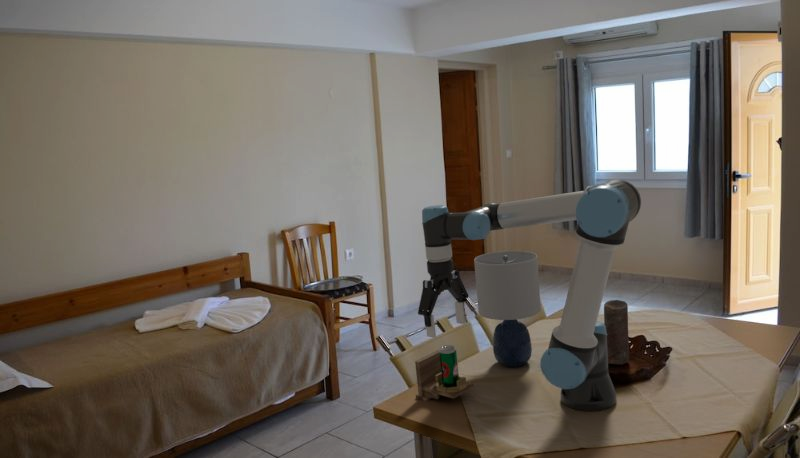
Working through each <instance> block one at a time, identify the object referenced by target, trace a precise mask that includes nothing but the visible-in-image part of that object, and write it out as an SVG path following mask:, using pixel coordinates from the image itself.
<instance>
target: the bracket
mask: <svg viewBox="0 0 800 458" xmlns="http://www.w3.org/2000/svg"><path fill="white" fill-rule="evenodd" d="M439 351H440V349H438V350H436V351H434V352H432V353H429V354H427V355H426V356H423V357H420V358H419V359H417V360H415V362H414V363H415V364H414V365H415V372H416V382H417V394H415V399H418V400H420V399H421V400H420V401H425V402H427V401H429V400H431V399H434V400H439V399H440V396H443V397H447V398H450V399H456V398H457V397H459V396H461V395H462V394H464V393H466V392H468V391H470V390H471V389H473V388H474V387H475V383H473V382H469V381H467V377H465V376H463V377H461V376H459V380H457V387H449V388H446V387H444V386H443V384H442V374H441V365H440V355H439ZM428 399H429V400H428Z"/></svg>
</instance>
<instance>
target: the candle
mask: <svg viewBox="0 0 800 458" xmlns="http://www.w3.org/2000/svg"><path fill="white" fill-rule="evenodd" d="M628 306H629V305H628V303H627V301H625V300H620V299H613V300H607V301H606V302H605V303H604V304H603V318H604V319H603V321H604V322H603V324H604V325H605V326H606V333H607V353H608V365H609V364H611V365H615V366H622V365H625V364H626V363H627V362H629V361H630V346H629V345H630V342H629V341H630V340H629V339H630V338H629V313H628V309H629V307H628Z"/></svg>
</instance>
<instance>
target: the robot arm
mask: <svg viewBox="0 0 800 458" xmlns="http://www.w3.org/2000/svg"><path fill="white" fill-rule="evenodd" d="M641 206H642V198H641V194H640V192H639V190H638V189H637V188H636V186H635V185H633V184H632V183H630V182H629V181H626V180H622V179H611V180H608V181H606V182H605V181H604V182H603V183H600V184H599V183H598V184H594V185H587V187H586V188H585V189H584V190H581V191H580V190H578V191H573V192H567V193H560V194H554V195H547V196H546V195H545V196H541V197H534V198H532V197H531V198H528V199H519V200H514V201H512V200H511V201H507V202H501V203H487V204H484V205H482V206H480V207H476V208H474V209H470V210H468V211H464V212H449V209H448V206H447V205H442V204H441V205H440V204H438V205H430V206H427V207H424V208H423V209H422V211H421V219H422V222H421V225H422V230H423V236H424V247H425V256H426V257H425V258H426V260H427V261H426V268H427V274H429V276H430V279H429V280H428V279H427V280H425V279H423V280H422V289H421V290H422V291H421V296H420V301H419V306H418V311H417V314H418V315H419V316H423V320H424V326H425V329H426V330H425V331H426V337H428V338H433V339H435V338H436V337H437V335H436V325H435V324H436V323H435V316H434V314H433V311H434V308H435V307H436V304H437V301H438V299H439V296H440V295H441V293H443V292H445V291H448V292H449V293H450V294H451V296H452V297H453V298H454V299H455V302H454V310H455V320H456V324H461V325H464V324H466V316H465V315H466V314H465V311H466V310H465V303H467V301H468V299H467V298H469V293H468V291H467V290H466V287H465V285H464V282H463V281H462V279H461V276H460V271H459V270H454V260H453V250H452V242H451V241H452V240H471V241H476V240H484V239H486V238H487V237H488V235H489V233H490V232H492V231H498V230H504V229H510V228H511V229H512V228H514V229H515V228H519V227H529V226H536V225H547V224H555V223H556V224H557V223H561V222H562V223H563V222H570V221H577V226H576V229H575V235H576V236H577V238H578V239H579V243H578V248H577V253H576V257H575V261H574V266H573V268H572V272H571V273H572V274H571V278H570V282H569V287H568V290H567V294H566V299H565V304H564V306H563V310H562V311H563V312H562V315H561V319H560V323H559V325H557V326H555V327H554V328H553V329H552V331H551V337H550V340H549V343H548V344H549V345H548V348H547V349H546V350H545V351H544V352H543V354H541V355H542V356H541V358H540V362H539V363H540V365H539V366H540V369H541V370H540V371H541V373H542V374H543V376H544V377H545V380H547V381H548V382H549V383H550V384H552V386H555V388H559V389H561V390H560V400H561V403H562V404H564V405H565V406H566V407H568V408H570V409H575V410H577V411H584V412H594V411H595V412H597V411H603V410H606V409H609V408H611V407H613V406H615V405H616V403H617V392H616V389H615V386H614V384H613V381H612V378H611V376H610V374H609V364H608V353H607V333H606V326H605V325H604V322H602V321H599V320H598V317H599V313H600V310H601V306H602V302H603V298H604V295H605V291H606V287H607V284H608V280H609V279H608V278H609V275H610V271H611V267H612V264H613V259H614V256H615V251H616V249H617V248H620V247H621V246H622V245H624V243H625V239H626V235H627V232H628V228H629V225H630V222H632V221H633V220H634V219H636V217H637V216H638V214H639V212H640V209H641Z"/></svg>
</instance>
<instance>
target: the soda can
mask: <svg viewBox="0 0 800 458" xmlns="http://www.w3.org/2000/svg"><path fill="white" fill-rule="evenodd" d="M439 350H440V351H439V355H440V365H441V374H442V384H443V386H444V387H446V388H449V387H457V380H459V377H460V376H459V375H460V374H459V364H458V356H457V349H456V348H455V346H454V345H452V344H451V345H450V344H446V345H442V346H441V347H440V348H439Z"/></svg>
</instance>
